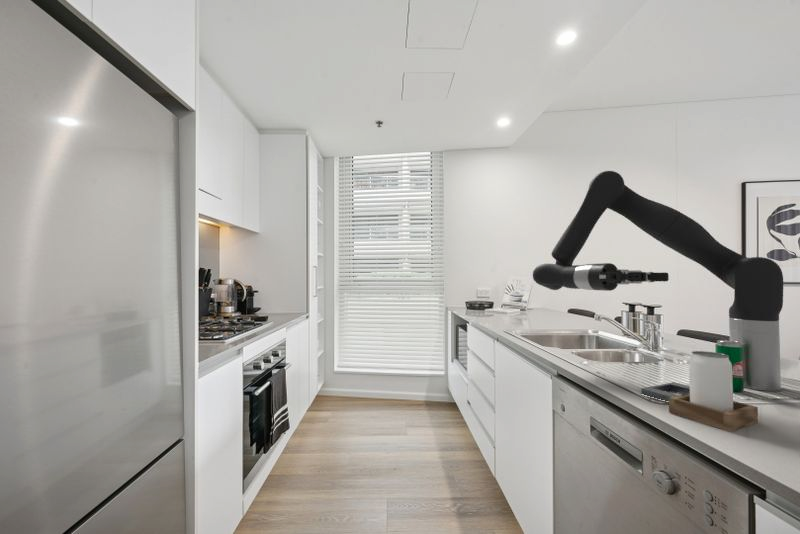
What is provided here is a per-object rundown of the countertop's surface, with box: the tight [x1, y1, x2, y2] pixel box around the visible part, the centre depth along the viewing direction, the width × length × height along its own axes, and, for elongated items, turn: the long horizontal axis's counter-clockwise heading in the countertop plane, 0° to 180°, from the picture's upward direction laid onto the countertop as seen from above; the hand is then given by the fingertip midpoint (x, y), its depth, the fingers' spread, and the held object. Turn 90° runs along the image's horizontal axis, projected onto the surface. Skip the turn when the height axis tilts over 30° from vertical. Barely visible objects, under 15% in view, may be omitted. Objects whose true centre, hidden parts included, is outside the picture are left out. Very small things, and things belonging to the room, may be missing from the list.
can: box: [688, 350, 734, 412], centre depth 71 cm, size 6×6×12 cm
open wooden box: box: [668, 393, 759, 432], centre depth 70 cm, size 10×10×3 cm
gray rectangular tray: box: [640, 381, 690, 401], centre depth 82 cm, size 13×9×2 cm
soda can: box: [714, 339, 745, 393], centre depth 89 cm, size 5×5×12 cm
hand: (657, 276), depth 86 cm, fingers open, 8 cm apart
